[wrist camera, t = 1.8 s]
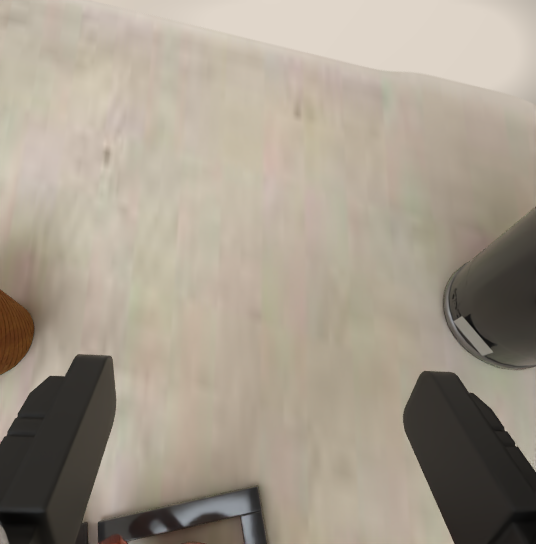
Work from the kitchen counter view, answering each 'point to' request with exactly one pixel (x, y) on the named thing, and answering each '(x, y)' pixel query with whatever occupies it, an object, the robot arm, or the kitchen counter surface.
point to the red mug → (115, 540)
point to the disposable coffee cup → (13, 332)
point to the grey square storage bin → (82, 534)
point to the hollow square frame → (192, 517)
